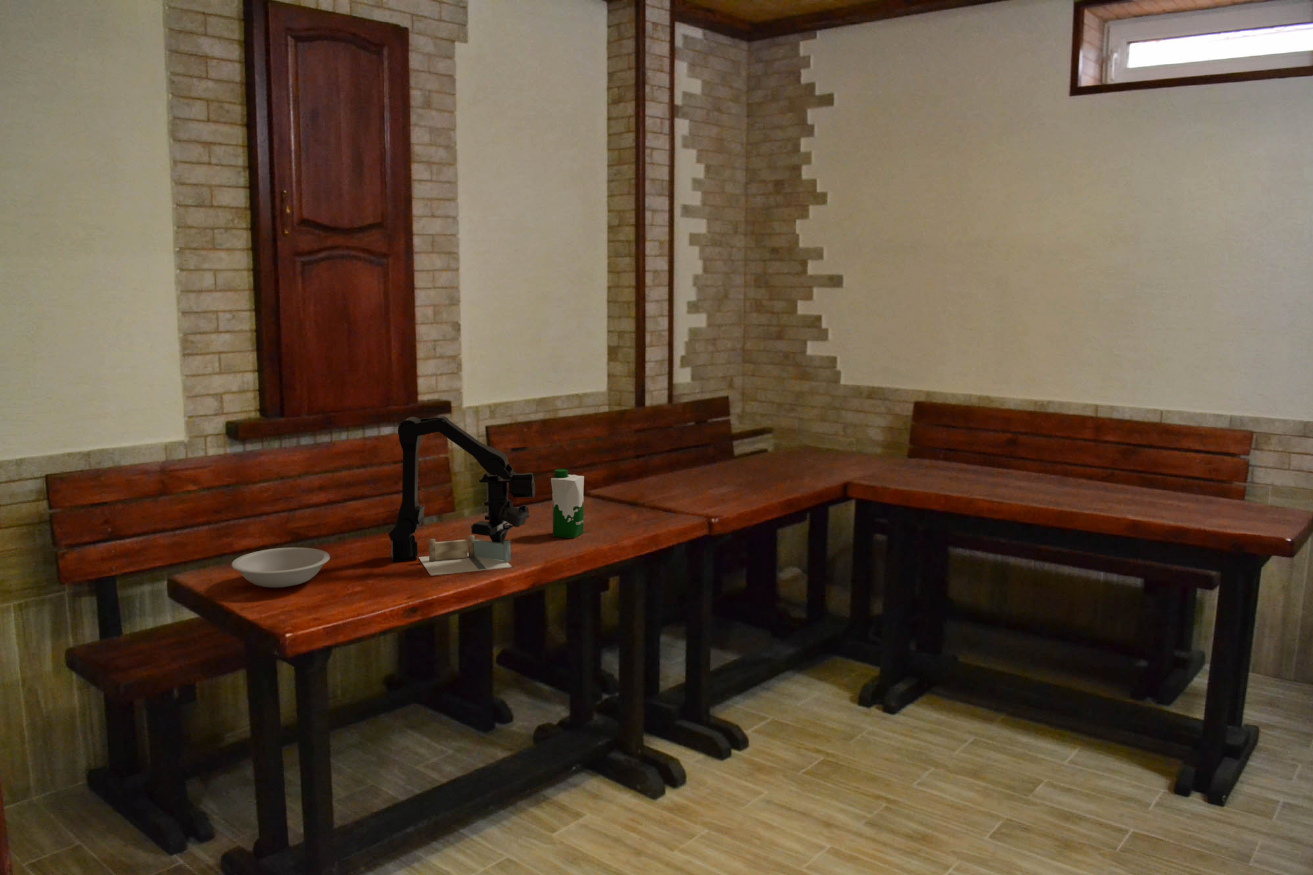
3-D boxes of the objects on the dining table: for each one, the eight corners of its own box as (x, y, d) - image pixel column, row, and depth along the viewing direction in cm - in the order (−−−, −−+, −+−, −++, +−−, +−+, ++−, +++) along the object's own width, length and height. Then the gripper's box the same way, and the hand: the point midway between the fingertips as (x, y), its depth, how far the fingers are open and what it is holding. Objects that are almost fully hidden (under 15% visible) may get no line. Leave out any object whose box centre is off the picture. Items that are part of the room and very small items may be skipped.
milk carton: (560, 530, 344) (559, 467, 341) (587, 532, 341) (587, 468, 338) (548, 537, 336) (548, 472, 333) (576, 539, 333) (575, 474, 330)
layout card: (430, 575, 295) (430, 574, 295) (418, 558, 312) (418, 556, 312) (511, 567, 303) (511, 566, 303) (495, 550, 320) (495, 549, 320)
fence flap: (473, 556, 311) (473, 537, 311) (477, 555, 313) (477, 535, 312) (508, 561, 307) (507, 541, 306) (511, 559, 308) (511, 540, 307)
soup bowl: (217, 583, 288) (215, 559, 287) (303, 565, 305) (302, 542, 304) (258, 604, 271) (257, 578, 270) (348, 584, 288) (346, 559, 287)
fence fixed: (429, 561, 308) (429, 540, 307) (428, 560, 309) (428, 539, 308) (475, 557, 312) (475, 536, 311) (474, 555, 314) (473, 535, 313)
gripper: (503, 508, 297) (505, 564, 300) (539, 492, 313) (541, 546, 316) (469, 504, 301) (471, 559, 304) (506, 488, 318) (508, 541, 321)
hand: (499, 551), depth 311 cm, fingers closed
